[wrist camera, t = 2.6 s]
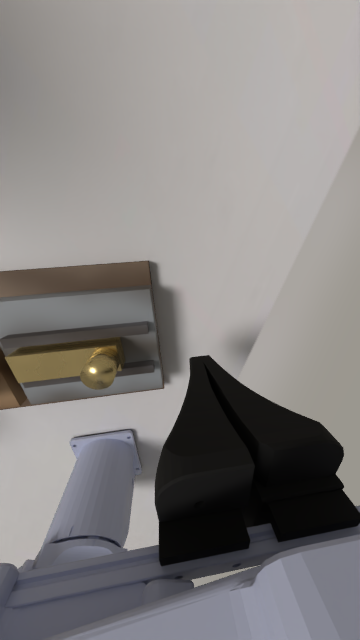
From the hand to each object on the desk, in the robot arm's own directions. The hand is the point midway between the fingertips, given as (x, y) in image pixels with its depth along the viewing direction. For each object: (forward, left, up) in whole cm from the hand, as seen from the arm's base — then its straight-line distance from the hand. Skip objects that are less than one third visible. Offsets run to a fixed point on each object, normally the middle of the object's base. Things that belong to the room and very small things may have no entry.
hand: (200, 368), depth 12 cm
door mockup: (0, +16, -7) cm, 18 cm away
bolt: (0, +10, -4) cm, 11 cm away
